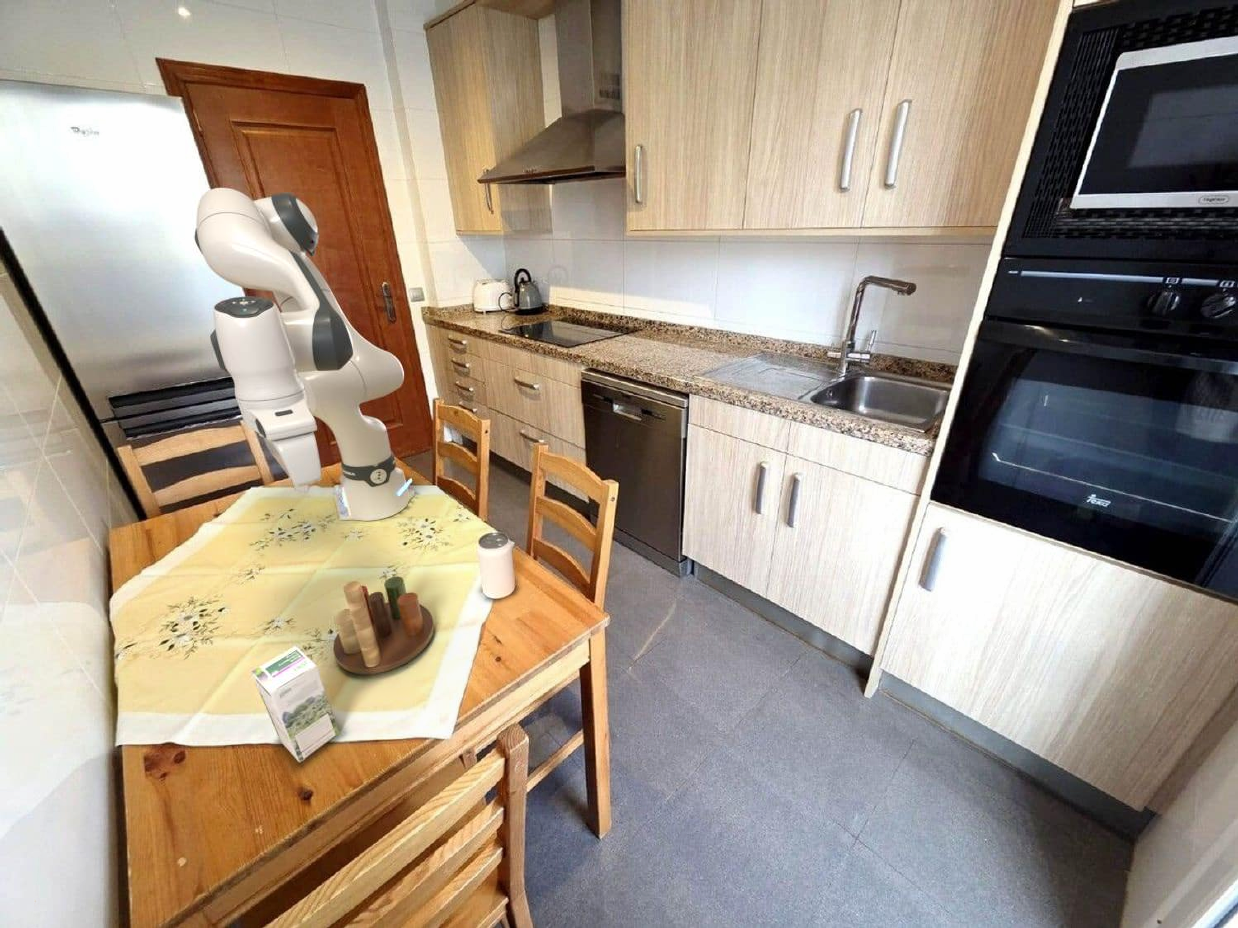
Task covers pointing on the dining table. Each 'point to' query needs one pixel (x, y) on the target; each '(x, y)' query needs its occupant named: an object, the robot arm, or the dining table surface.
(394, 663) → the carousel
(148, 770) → the dining table surface
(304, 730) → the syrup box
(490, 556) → the can
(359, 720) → the dining table surface
